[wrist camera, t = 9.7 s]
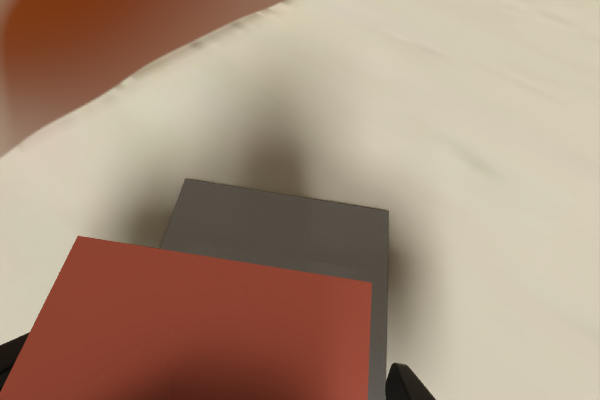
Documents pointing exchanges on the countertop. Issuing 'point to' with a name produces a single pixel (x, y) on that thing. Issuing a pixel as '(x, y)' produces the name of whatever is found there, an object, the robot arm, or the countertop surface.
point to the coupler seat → (290, 243)
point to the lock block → (192, 331)
